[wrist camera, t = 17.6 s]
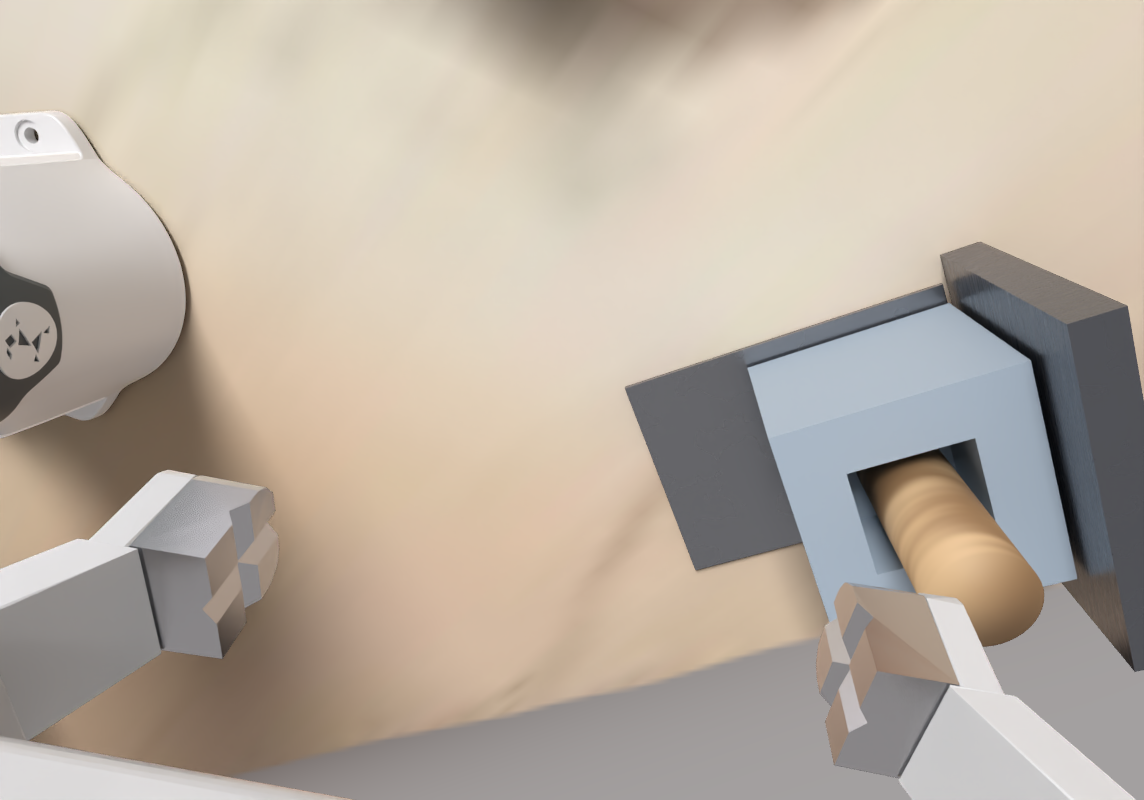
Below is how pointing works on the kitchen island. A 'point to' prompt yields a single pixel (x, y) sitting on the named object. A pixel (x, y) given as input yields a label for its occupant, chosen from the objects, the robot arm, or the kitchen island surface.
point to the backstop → (1067, 398)
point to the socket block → (909, 440)
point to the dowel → (954, 544)
